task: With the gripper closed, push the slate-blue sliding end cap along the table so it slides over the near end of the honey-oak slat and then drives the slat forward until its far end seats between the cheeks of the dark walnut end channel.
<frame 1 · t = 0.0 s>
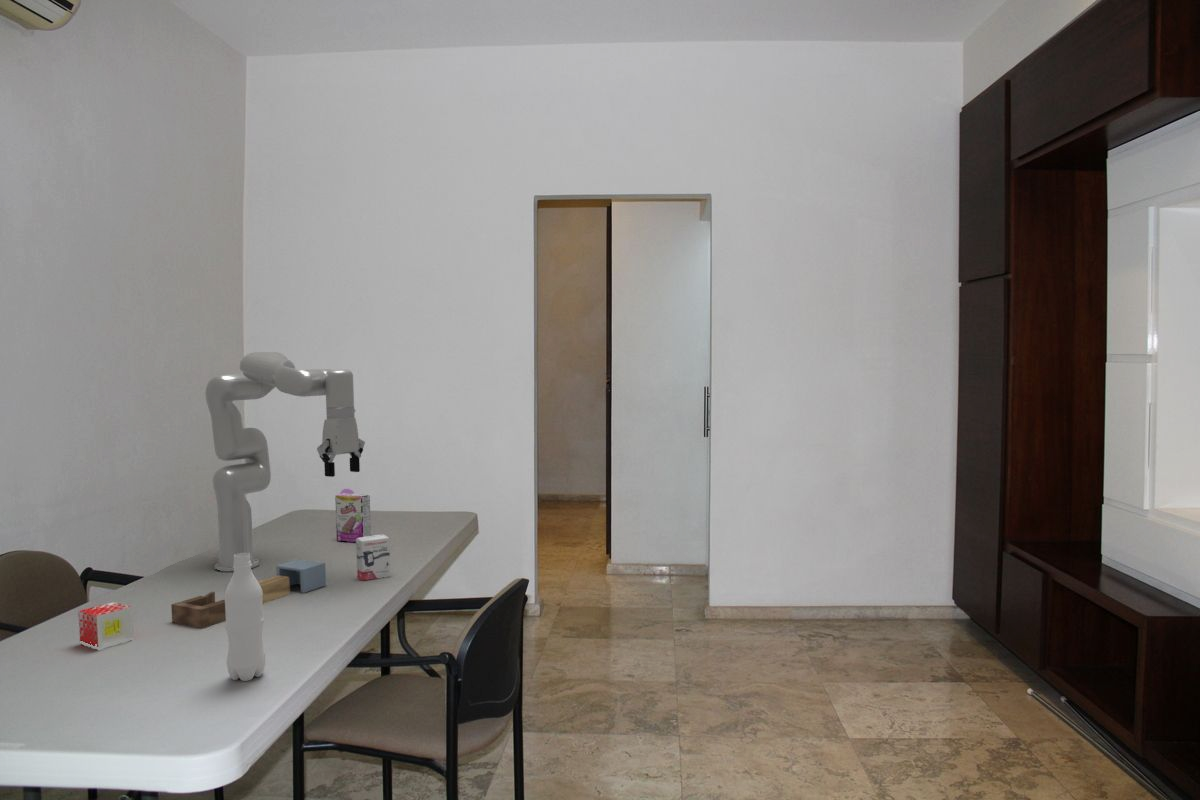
hand: (342, 474, 240), 31 cm above the table, tool pointing down, fingers open, 9 cm apart
blue end cap: (301, 575, 237), point 3 cm above the table, slide at 0.0 cm
red and white box: (107, 643, 194), on the table
walnut end cap: (197, 621, 208), on the table
candy bar box: (353, 542, 296), on the table
oak slat: (260, 602, 225), on the table
ink box: (374, 577, 248), on the table
toy chair: (352, 529, 318), on the table
water bottle: (247, 677, 172), on the table
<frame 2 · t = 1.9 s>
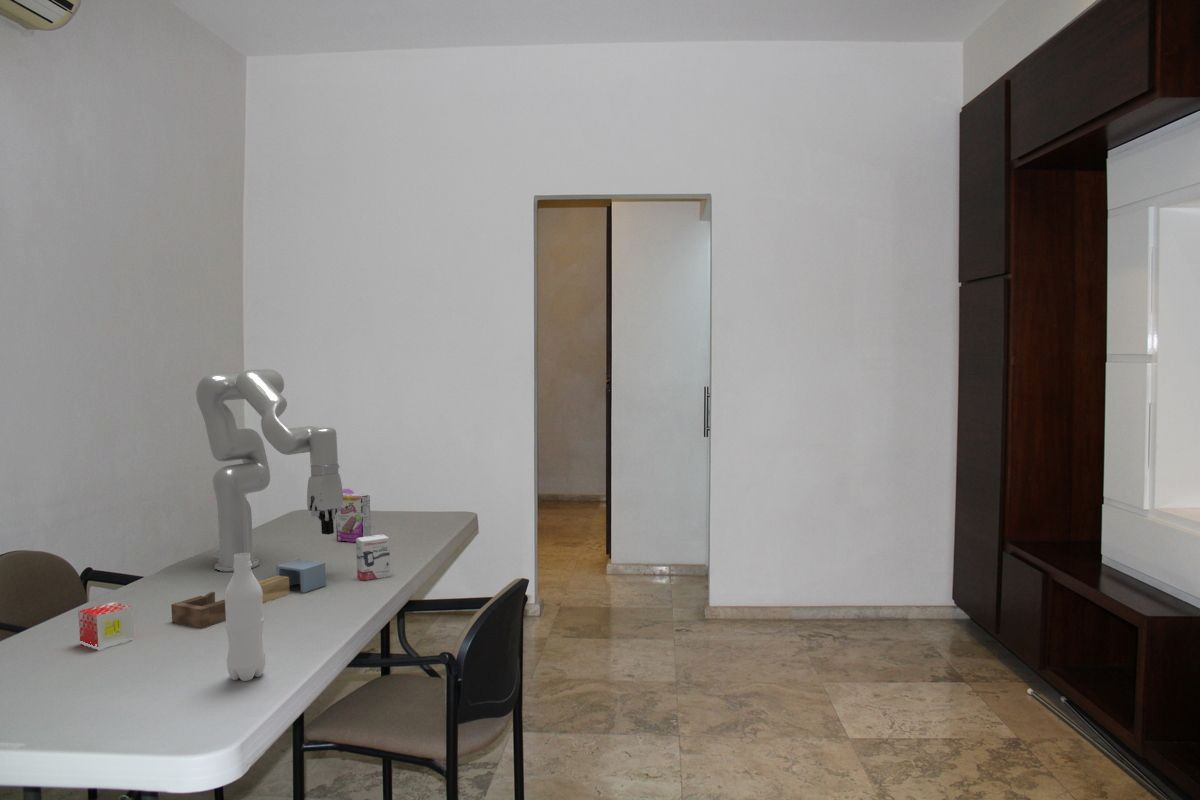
hand: (327, 533, 245), 13 cm above the table, tool pointing down, fingers closed
nothing on the table moved.
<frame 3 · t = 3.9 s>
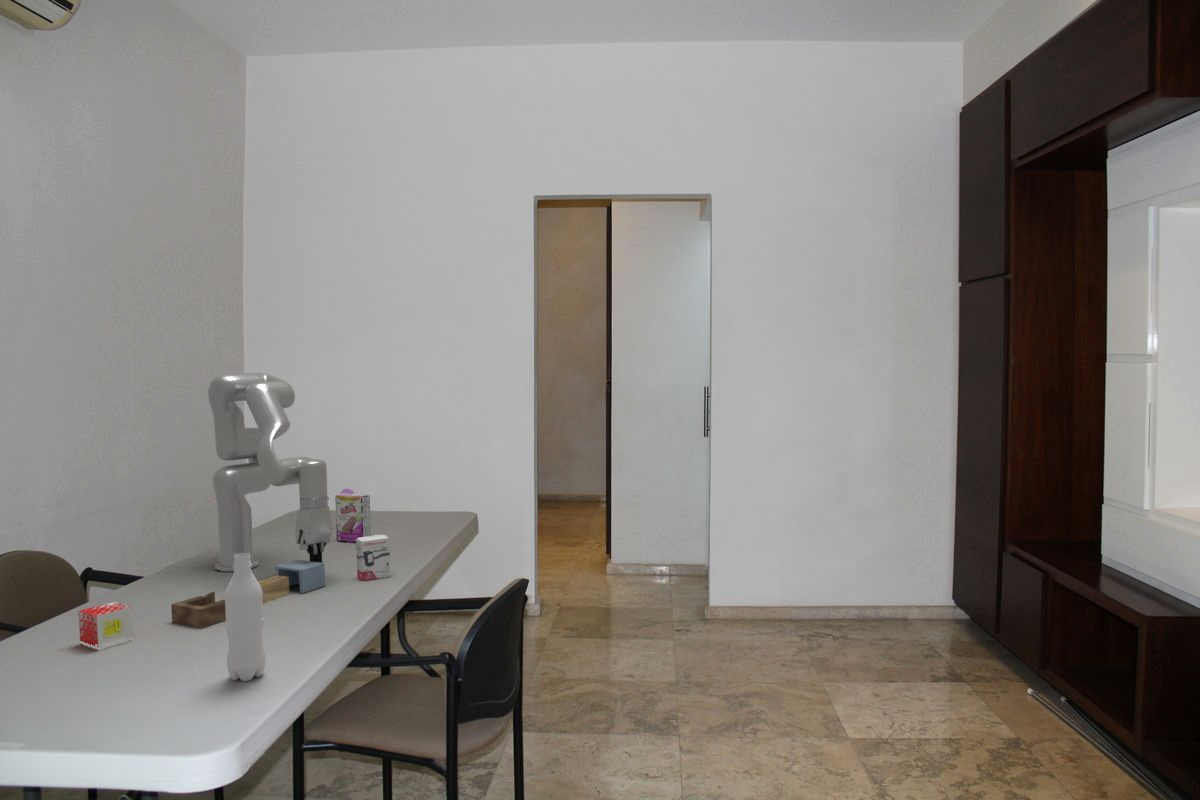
hand: (316, 566, 242), 5 cm above the table, tool pointing down, fingers closed
blue end cap: (300, 575, 237), point 3 cm above the table, slide at 0.3 cm, touching gripper
everything else where it was.
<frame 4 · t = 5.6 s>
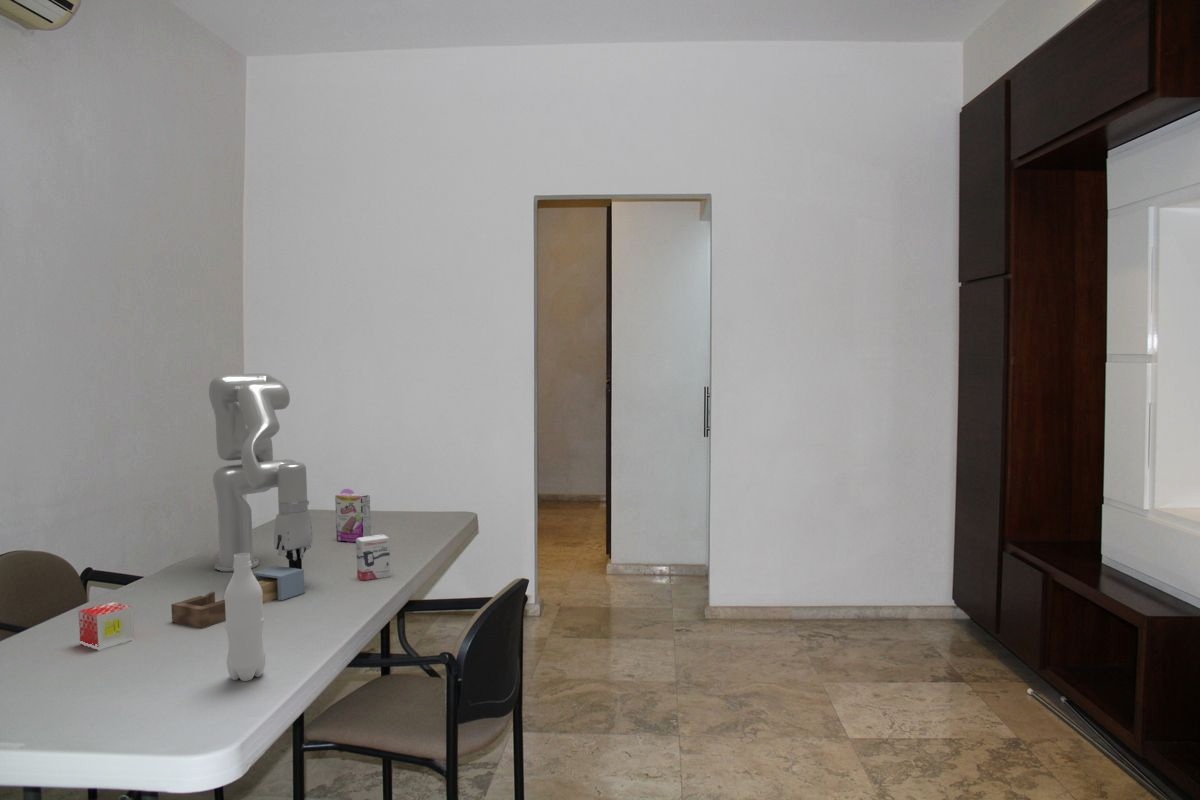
hand: (295, 573, 236), 5 cm above the table, tool pointing down, fingers closed
blue end cap: (278, 582, 230), point 3 cm above the table, slide at 7.8 cm, touching gripper
everything else where it was.
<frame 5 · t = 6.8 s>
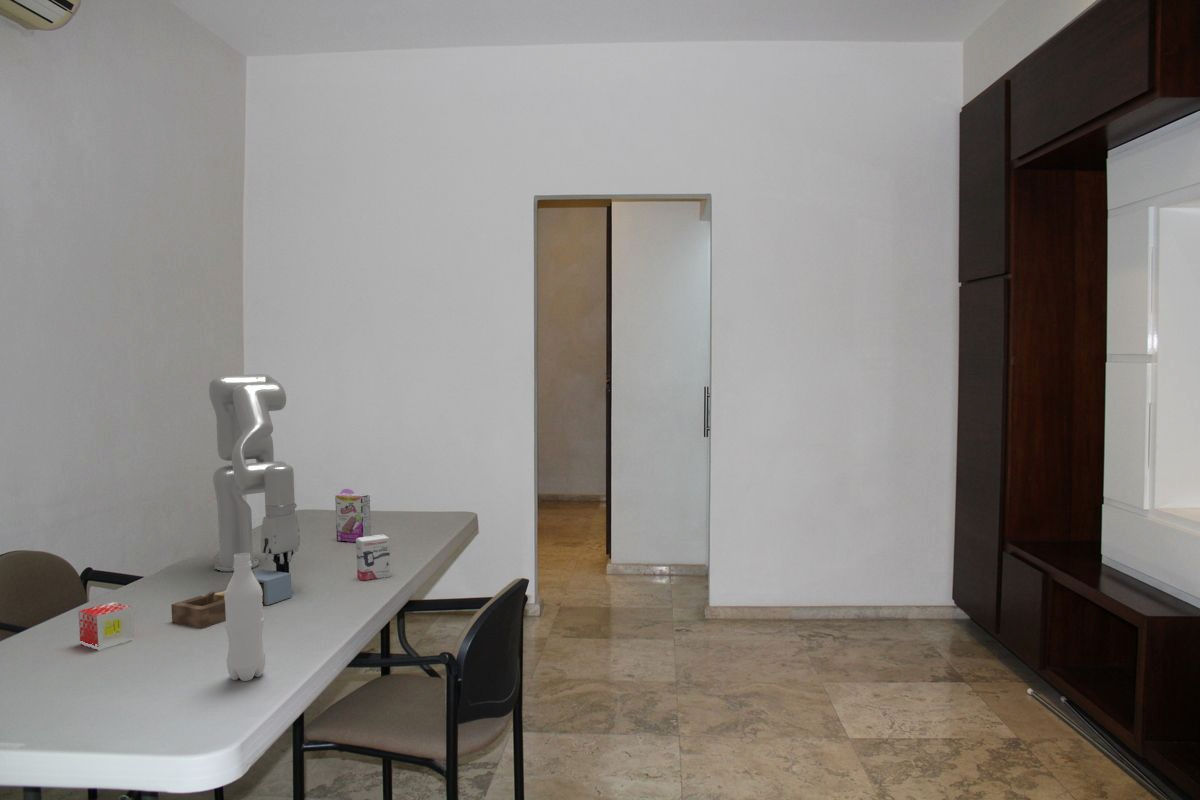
hand: (282, 576, 232), 5 cm above the table, tool pointing down, fingers closed
blue end cap: (265, 586, 226), point 3 cm above the table, slide at 12.3 cm, touching gripper
oak slat: (246, 605, 222), on the table
everything else where it was.
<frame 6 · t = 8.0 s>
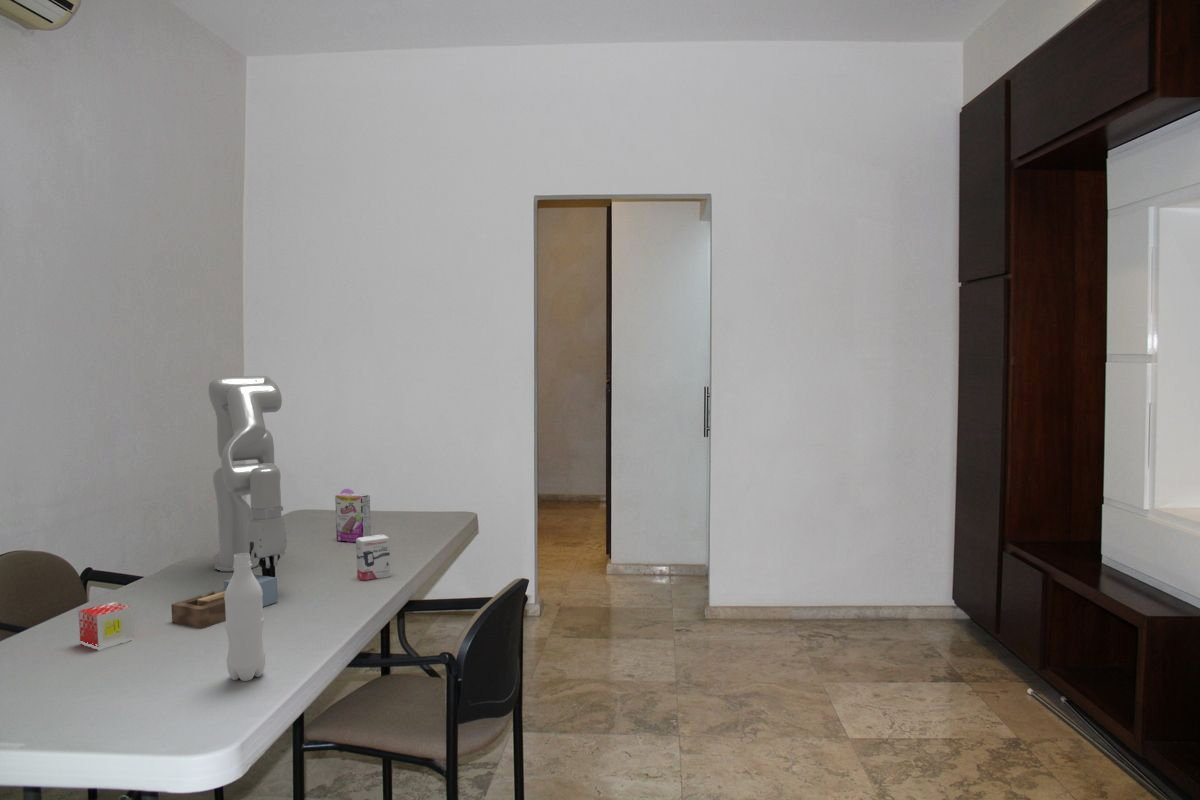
hand: (269, 581, 227), 5 cm above the table, tool pointing down, fingers closed
blue end cap: (251, 591, 222), point 3 cm above the table, slide at 17.0 cm, touching gripper
oak slat: (230, 611, 217), on the table
everything else where it was.
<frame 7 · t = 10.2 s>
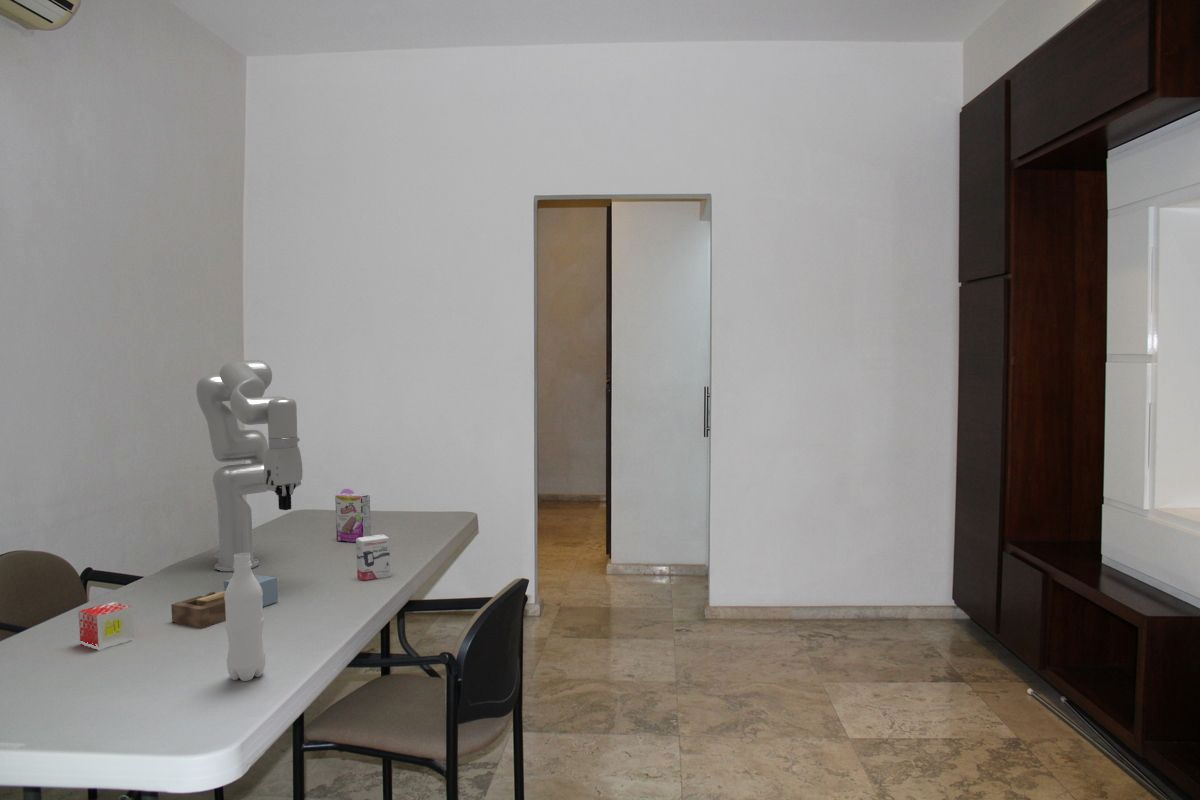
hand: (285, 509, 235), 22 cm above the table, tool pointing down, fingers closed
blue end cap: (251, 591, 222), point 3 cm above the table, slide at 17.0 cm
everything else where it was.
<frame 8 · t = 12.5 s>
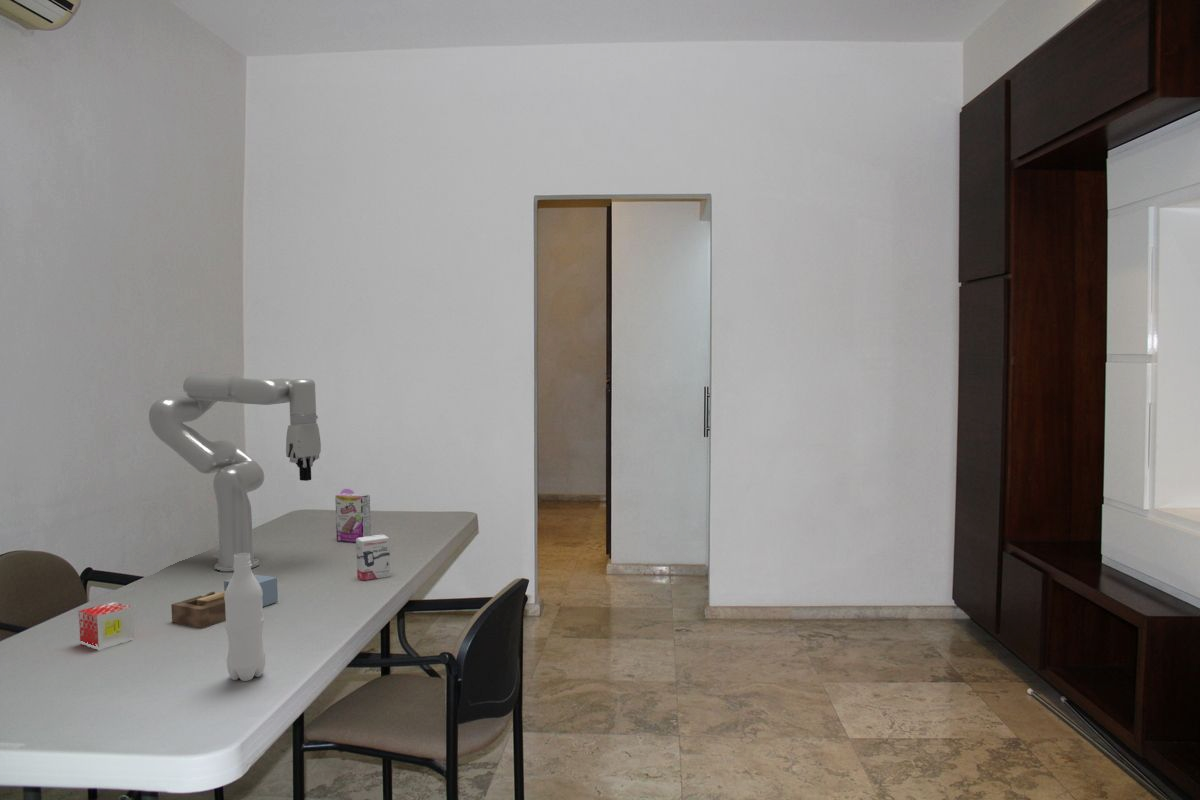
hand: (305, 480, 258), 27 cm above the table, tool pointing down, fingers closed
nothing on the table moved.
at the end: oak slat 0.9 cm from the target spot, on the table; blue end cap slide at 17.0 cm; oak slat tilted 0° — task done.
